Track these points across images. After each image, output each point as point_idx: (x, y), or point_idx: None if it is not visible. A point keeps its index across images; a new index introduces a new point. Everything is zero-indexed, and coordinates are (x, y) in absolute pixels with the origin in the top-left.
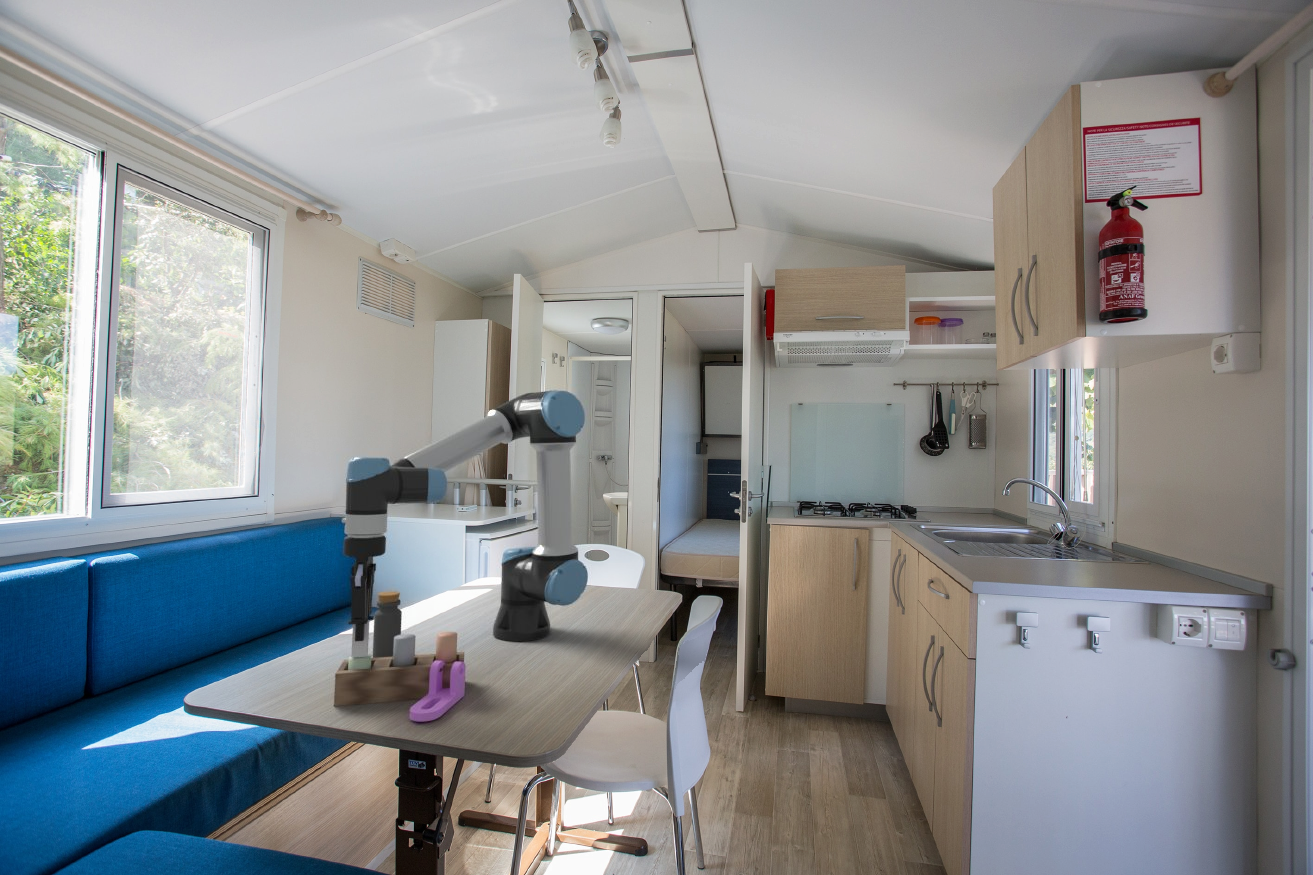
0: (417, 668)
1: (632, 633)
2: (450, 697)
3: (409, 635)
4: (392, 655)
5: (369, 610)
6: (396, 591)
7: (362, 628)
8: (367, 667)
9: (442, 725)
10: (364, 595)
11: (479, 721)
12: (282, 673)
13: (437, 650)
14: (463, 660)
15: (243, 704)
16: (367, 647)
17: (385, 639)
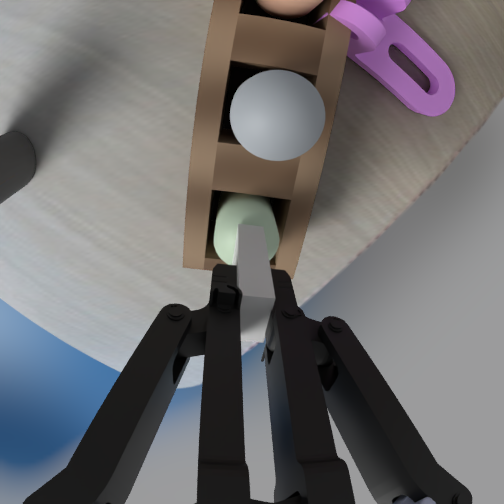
0: (342, 76)
1: None
2: (398, 24)
3: (262, 94)
4: (24, 146)
5: (223, 331)
6: None
7: (294, 303)
8: (267, 209)
9: (457, 71)
10: (414, 429)
11: (463, 17)
12: (85, 322)
13: (313, 3)
14: None
15: None
16: (254, 238)
17: (4, 177)
